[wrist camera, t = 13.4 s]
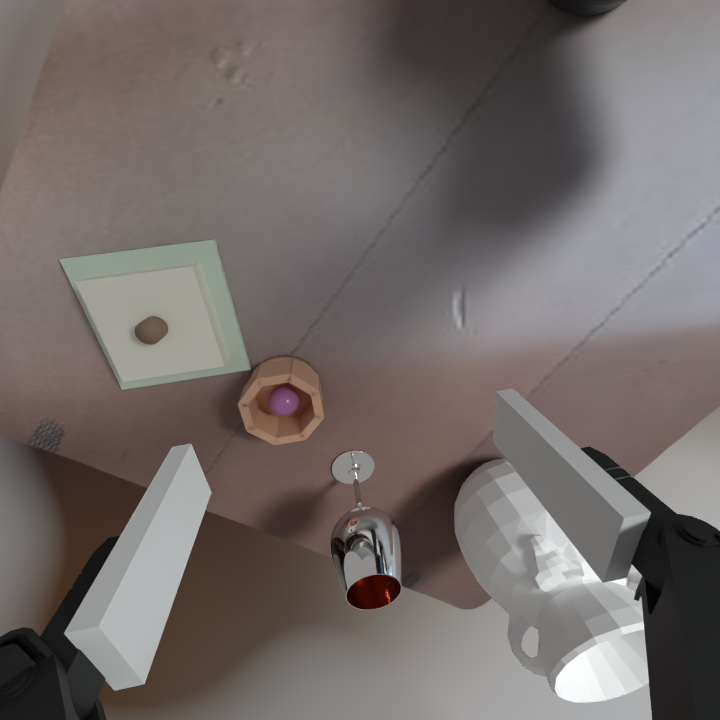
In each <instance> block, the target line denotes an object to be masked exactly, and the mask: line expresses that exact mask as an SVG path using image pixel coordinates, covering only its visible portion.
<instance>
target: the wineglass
mask: <svg viewBox="0 0 720 720" xmlns="http://www.w3.org/2000/svg"><path fill="white" fill-rule="evenodd" d="M373 471H374V460H373V458H372V457H371V456H370V455H369V454H368V453H366V452H364V451H361V450H349V451H346V452H344V453H342V454H340V455H339V456H338V457H337V458H336V459H335V460H334V462H333V464H332V473H333V476H334V477H335V478H336V479H337V480H338V481H340V482H342V483H345V484H353V485H354V491H355V498H356V507H355V508H353V509H351V510H350V511H348V512H347V513H345V514H344V515H343V516H342V517H341V518H340V519H339V521H338V522H337V524H336V525H335V527H334V529H333V532H332V535H331V540H330V549H331V555H332V559H333V563H334V566H335V569H336V572H337V575H338V578H339V581H340V584H341V587H342V589H343V592H344V595H345V598H346V600H347V602H348V604H349V605H351V606H352V607H354V608H357V609H361V610H375V609H379V608H382V607H385V606H387V605H389V604H391V603H392V602H394V601H395V600H396V599H397V598H398V597H399V595H400V593H401V591H402V541H401V535H400V531H399V529H398V526H397V524H396V523H395V521H394V520H393V519H392V518H391V517H390V516H389V515H388V514H387V513H385V512H384V511H382V510H380V509H378V508H375V507H372V506H365V505H363V503H362V498H361V492H360V487H359V483H360V482H363V481H365V480H366V479H367V478H369V477H370V476H371V474H372V473H373Z"/></svg>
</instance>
